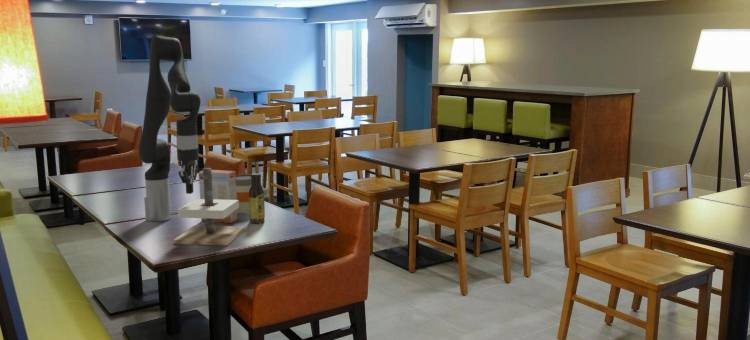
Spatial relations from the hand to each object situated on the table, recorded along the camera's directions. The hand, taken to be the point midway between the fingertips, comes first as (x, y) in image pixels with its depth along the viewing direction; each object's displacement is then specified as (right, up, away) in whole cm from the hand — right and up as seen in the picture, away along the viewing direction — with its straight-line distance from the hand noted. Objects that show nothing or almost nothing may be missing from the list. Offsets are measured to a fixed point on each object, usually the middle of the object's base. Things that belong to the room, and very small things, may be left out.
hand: (189, 193), depth 233 cm
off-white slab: (+7, -7, +1) cm, 10 cm away
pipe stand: (+7, -16, +2) cm, 18 cm away
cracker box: (+5, -12, +25) cm, 29 cm away
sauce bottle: (+21, -13, +24) cm, 34 cm away
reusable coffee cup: (+12, -9, +42) cm, 45 cm away
